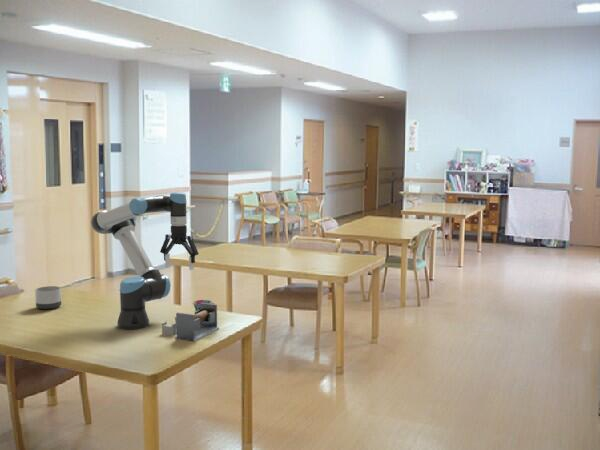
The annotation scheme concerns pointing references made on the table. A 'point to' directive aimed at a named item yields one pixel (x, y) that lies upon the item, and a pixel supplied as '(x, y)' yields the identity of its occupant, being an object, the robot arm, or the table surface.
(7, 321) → the table surface
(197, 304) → the mug
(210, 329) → the wall board
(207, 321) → the brackets
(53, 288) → the planter
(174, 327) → the rest blocks
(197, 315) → the brown cylinder
